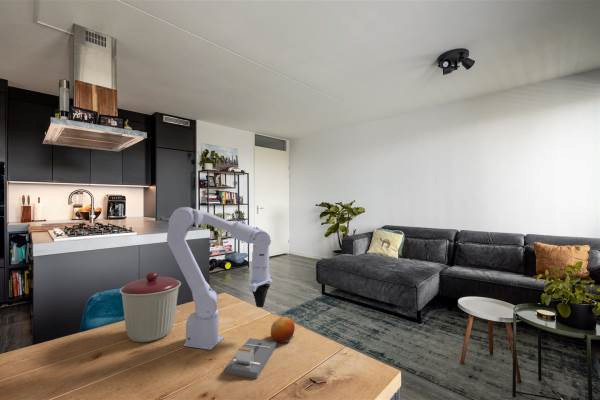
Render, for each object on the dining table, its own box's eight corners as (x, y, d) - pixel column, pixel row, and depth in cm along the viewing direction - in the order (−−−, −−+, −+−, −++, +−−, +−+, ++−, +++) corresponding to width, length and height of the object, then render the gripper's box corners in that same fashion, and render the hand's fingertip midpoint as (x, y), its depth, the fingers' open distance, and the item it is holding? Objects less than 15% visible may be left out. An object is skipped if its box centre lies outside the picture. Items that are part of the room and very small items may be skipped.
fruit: (297, 342, 84) (284, 319, 85) (276, 353, 85) (264, 330, 86) (302, 330, 92) (290, 309, 93) (283, 340, 93) (271, 319, 94)
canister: (190, 325, 98) (191, 267, 99) (155, 352, 80) (157, 281, 81) (146, 321, 101) (147, 265, 102) (103, 345, 84) (105, 277, 84)
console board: (224, 373, 70) (224, 364, 70) (249, 342, 86) (249, 335, 86) (257, 378, 68) (257, 369, 68) (276, 346, 84) (276, 339, 84)
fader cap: (235, 364, 71) (236, 350, 71) (239, 359, 74) (240, 346, 74) (250, 367, 70) (250, 352, 70) (253, 361, 73) (253, 348, 73)
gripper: (264, 271, 83) (263, 316, 83) (278, 262, 97) (277, 300, 97) (243, 270, 85) (242, 314, 84) (259, 261, 99) (259, 298, 99)
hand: (260, 306), depth 91 cm, fingers closed
